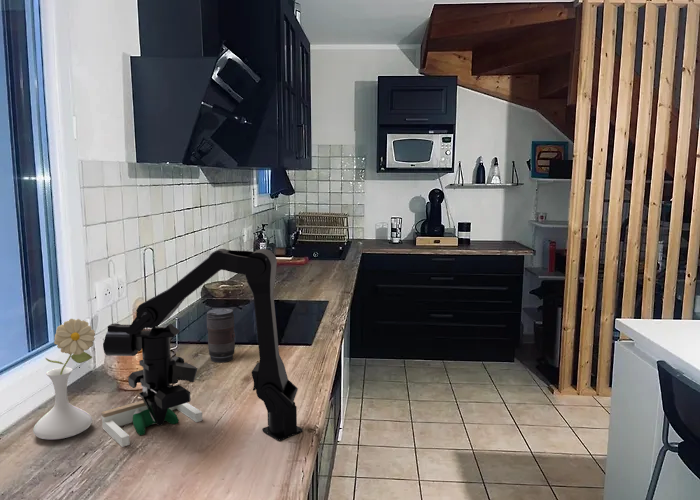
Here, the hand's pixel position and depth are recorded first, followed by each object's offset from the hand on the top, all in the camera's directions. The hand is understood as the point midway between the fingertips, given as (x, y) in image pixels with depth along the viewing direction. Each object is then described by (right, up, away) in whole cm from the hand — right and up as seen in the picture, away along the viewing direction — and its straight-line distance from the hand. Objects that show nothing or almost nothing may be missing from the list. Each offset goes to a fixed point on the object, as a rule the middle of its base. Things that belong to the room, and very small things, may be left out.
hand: (160, 424), depth 118 cm
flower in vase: (-20, -2, -1) cm, 20 cm away
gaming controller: (-2, -1, +3) cm, 4 cm away
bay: (-2, -1, +2) cm, 3 cm away
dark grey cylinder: (+2, +5, +47) cm, 47 cm away
